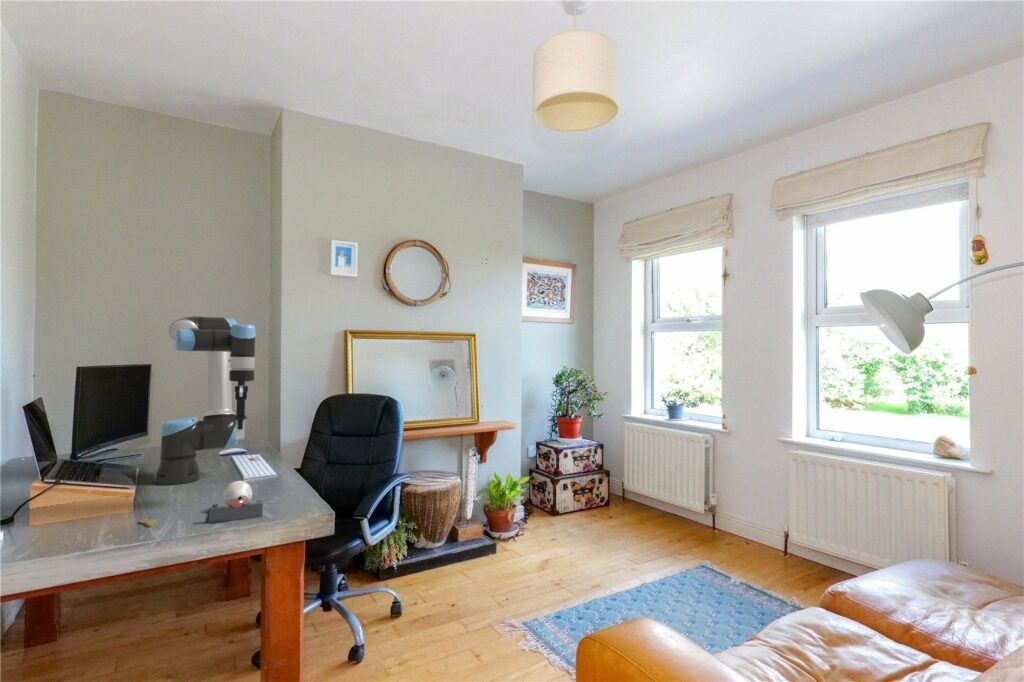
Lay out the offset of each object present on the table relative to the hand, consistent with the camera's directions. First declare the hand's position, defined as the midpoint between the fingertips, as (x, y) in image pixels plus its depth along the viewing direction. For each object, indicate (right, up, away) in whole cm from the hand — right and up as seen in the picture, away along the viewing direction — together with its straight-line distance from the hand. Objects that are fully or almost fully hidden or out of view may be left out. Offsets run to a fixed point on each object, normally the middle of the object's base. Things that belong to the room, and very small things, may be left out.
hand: (239, 438), depth 176 cm
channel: (+7, -20, -16) cm, 27 cm away
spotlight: (+7, -20, -14) cm, 25 cm away
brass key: (-11, -20, -27) cm, 36 cm away
